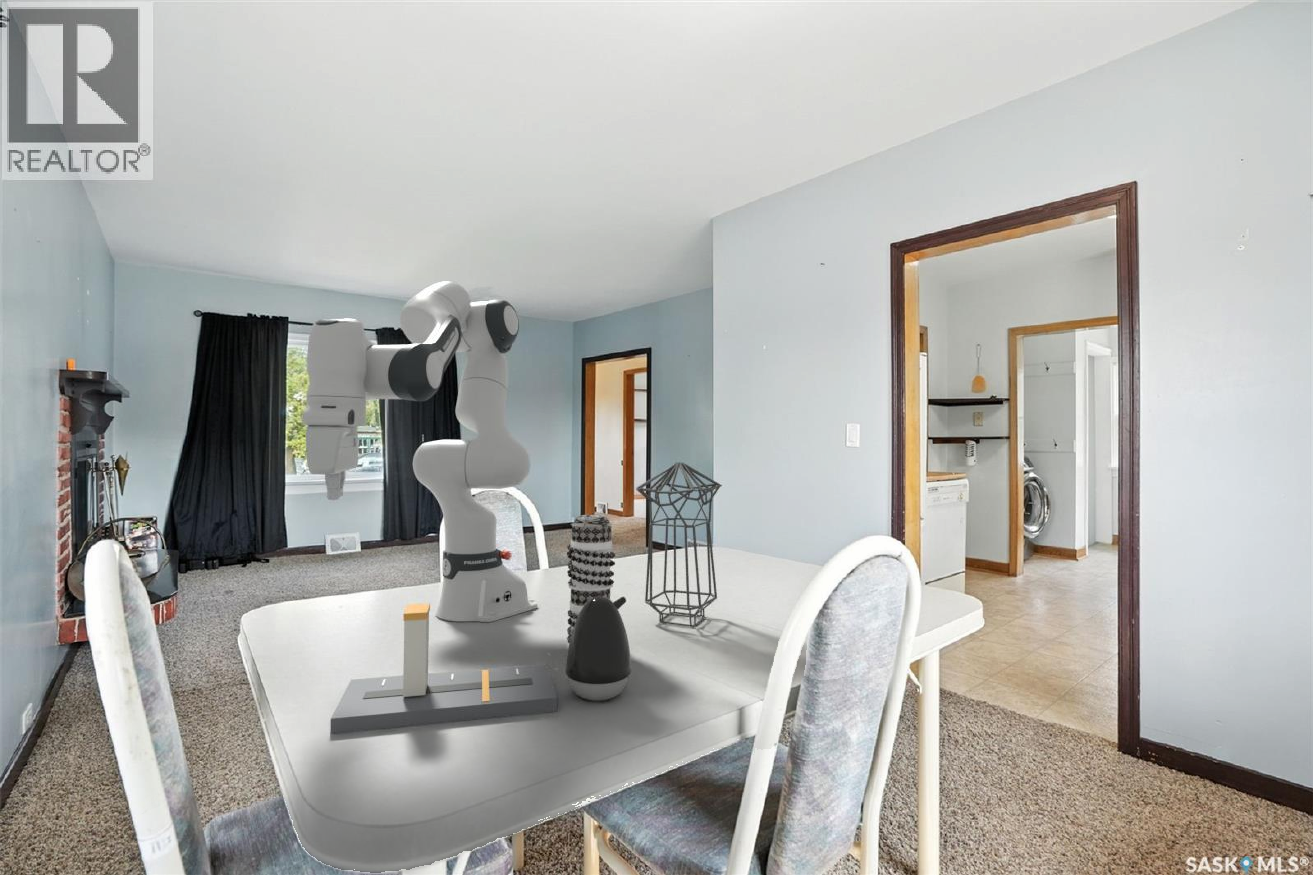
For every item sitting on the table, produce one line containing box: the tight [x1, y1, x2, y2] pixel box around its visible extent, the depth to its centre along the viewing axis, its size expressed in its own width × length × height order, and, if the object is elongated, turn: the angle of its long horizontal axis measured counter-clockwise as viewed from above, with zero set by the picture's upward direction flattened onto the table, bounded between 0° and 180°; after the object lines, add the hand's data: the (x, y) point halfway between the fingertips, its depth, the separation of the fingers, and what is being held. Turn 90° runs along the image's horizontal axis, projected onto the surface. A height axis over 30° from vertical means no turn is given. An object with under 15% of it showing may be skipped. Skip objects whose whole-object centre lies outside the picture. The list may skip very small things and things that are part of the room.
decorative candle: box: [566, 514, 616, 648], centre depth 121 cm, size 9×9×25 cm
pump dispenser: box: [565, 596, 632, 702], centre depth 99 cm, size 10×10×15 cm
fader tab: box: [402, 602, 431, 697], centre depth 94 cm, size 3×5×12 cm, turn 16°
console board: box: [329, 663, 558, 735], centre depth 95 cm, size 30×14×2 cm, turn 106°
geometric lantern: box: [635, 461, 723, 628], centre depth 140 cm, size 16×16×35 cm
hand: (335, 499), depth 105 cm, fingers closed
